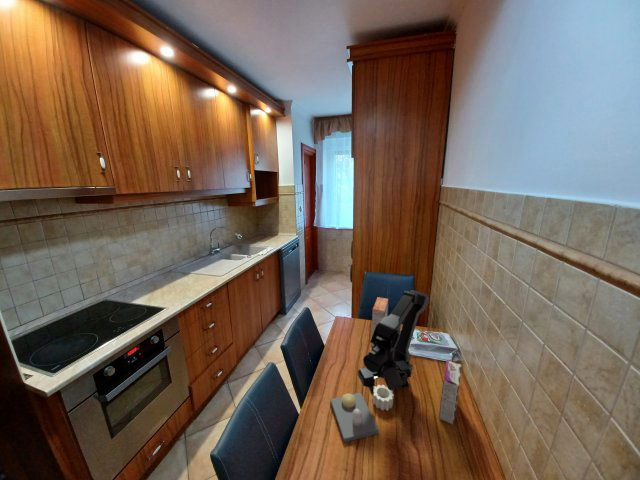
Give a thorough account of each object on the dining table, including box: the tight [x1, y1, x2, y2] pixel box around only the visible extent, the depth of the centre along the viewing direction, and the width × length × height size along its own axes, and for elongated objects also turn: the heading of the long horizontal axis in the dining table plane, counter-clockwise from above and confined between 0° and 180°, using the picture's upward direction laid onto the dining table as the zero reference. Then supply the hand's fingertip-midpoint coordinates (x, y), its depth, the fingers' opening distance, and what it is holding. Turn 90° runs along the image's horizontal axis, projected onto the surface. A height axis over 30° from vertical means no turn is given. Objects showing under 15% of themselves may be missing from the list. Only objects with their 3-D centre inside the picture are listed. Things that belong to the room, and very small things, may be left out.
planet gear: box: [371, 384, 395, 411], centre depth 92 cm, size 8×8×4 cm
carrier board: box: [330, 392, 380, 443], centre depth 86 cm, size 12×15×6 cm
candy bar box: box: [438, 359, 462, 426], centre depth 87 cm, size 11×5×16 cm, turn 148°
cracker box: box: [370, 296, 389, 348], centre depth 126 cm, size 14×6×21 cm, turn 157°
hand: (383, 391), depth 92 cm, fingers open, 9 cm apart
